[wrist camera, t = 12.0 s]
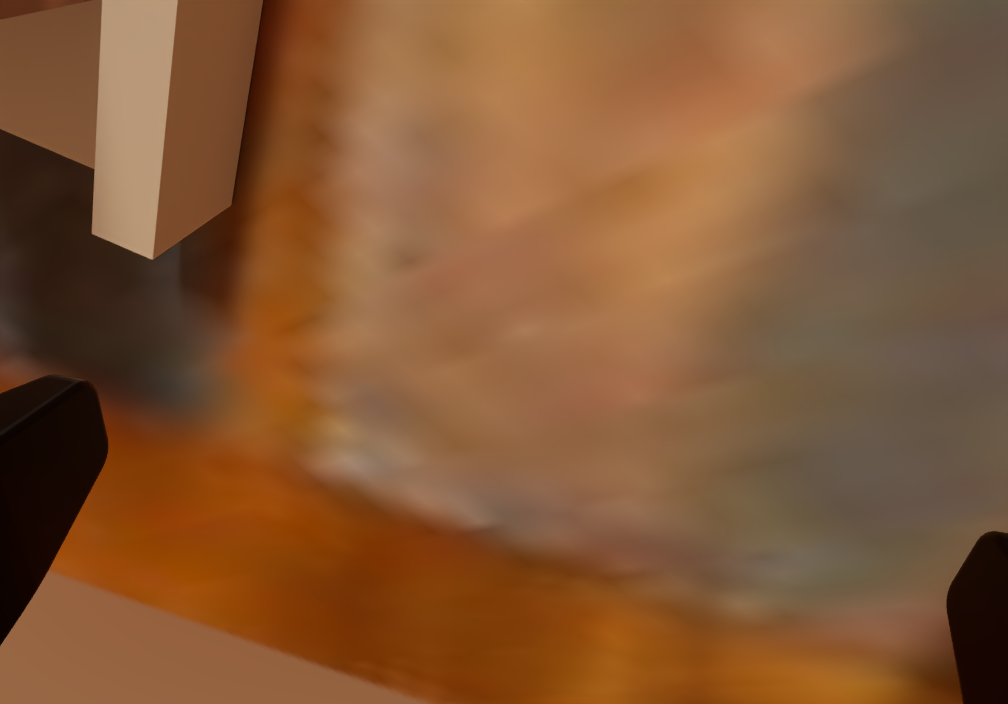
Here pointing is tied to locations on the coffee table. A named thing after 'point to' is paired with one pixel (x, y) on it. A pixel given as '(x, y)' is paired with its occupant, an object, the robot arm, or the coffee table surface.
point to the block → (31, 6)
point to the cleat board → (136, 105)
